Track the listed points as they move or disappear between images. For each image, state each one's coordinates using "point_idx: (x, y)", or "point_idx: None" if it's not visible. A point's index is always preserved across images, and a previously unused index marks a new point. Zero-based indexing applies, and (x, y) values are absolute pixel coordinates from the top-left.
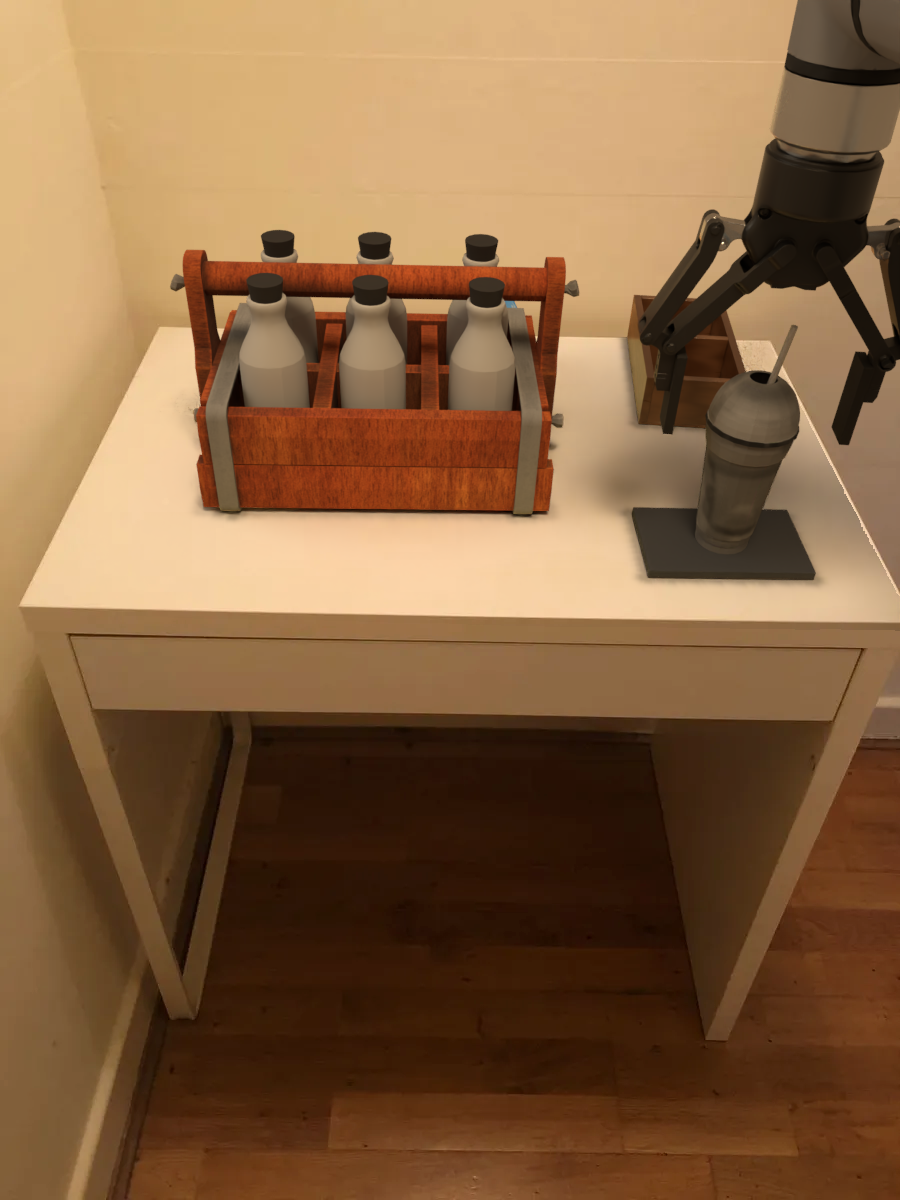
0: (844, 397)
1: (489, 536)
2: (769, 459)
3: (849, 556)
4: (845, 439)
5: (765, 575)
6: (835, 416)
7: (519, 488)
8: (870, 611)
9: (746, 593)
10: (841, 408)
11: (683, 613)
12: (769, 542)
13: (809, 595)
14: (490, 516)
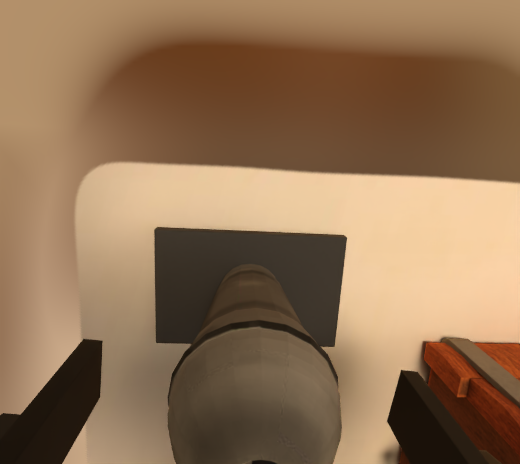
0: (64, 442)
1: (492, 305)
2: (237, 314)
3: (101, 267)
4: (88, 346)
5: (214, 230)
6: (89, 411)
7: (486, 356)
8: (105, 171)
9: (241, 206)
10: (76, 419)
11: (321, 175)
12: (194, 283)
13: (169, 201)
14: (483, 338)
